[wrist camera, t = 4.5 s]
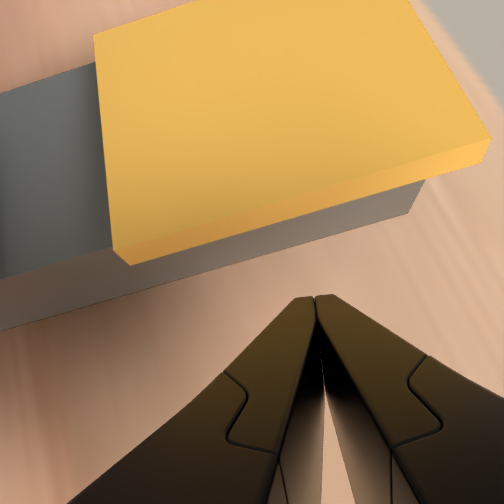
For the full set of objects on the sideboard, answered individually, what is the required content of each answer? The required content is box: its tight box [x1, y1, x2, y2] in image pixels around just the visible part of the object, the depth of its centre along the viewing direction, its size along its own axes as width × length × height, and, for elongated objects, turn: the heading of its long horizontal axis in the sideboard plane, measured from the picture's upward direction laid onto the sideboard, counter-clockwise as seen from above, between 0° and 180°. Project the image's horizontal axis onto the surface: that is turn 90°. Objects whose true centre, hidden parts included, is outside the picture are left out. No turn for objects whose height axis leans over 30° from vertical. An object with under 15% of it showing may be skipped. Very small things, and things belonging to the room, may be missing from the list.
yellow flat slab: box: [93, 0, 492, 266], centre depth 16 cm, size 10×12×1 cm
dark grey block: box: [0, 62, 425, 331], centre depth 22 cm, size 9×30×8 cm, turn 105°
